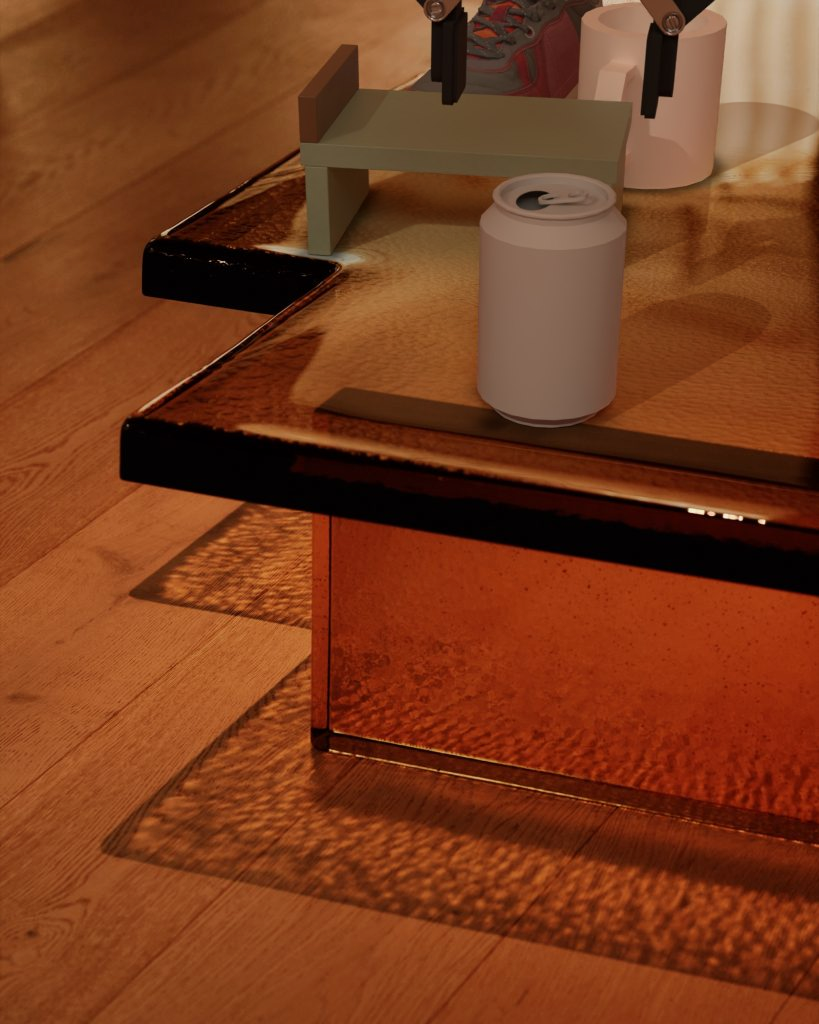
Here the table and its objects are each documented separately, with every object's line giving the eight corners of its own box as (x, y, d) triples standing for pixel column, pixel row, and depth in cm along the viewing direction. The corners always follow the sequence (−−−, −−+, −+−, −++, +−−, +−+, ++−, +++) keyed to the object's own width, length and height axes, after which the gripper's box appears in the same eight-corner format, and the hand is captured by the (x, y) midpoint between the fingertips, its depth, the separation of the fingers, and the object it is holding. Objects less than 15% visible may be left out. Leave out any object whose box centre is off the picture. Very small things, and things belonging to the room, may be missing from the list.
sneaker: (373, 160, 121) (370, -3, 114) (525, 64, 142) (529, -78, 136) (497, 180, 116) (500, 13, 110) (633, 78, 138) (643, -67, 132)
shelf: (626, 208, 112) (635, 57, 106) (611, 275, 101) (621, 112, 96) (345, 191, 115) (341, 43, 109) (304, 254, 105) (297, 95, 99)
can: (494, 364, 91) (498, 159, 84) (626, 380, 89) (640, 171, 83) (461, 425, 85) (463, 208, 78) (602, 443, 83) (616, 223, 77)
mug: (676, 213, 111) (689, 58, 105) (538, 192, 114) (543, 42, 109) (729, 153, 121) (743, 10, 116) (600, 136, 125) (608, -4, 119)
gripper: (358, -282, 68) (361, 115, 77) (775, -270, 65) (727, 141, 74) (393, -299, 74) (392, 70, 83) (775, -289, 71) (731, 92, 80)
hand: (550, 103), depth 78 cm, fingers open, 9 cm apart
